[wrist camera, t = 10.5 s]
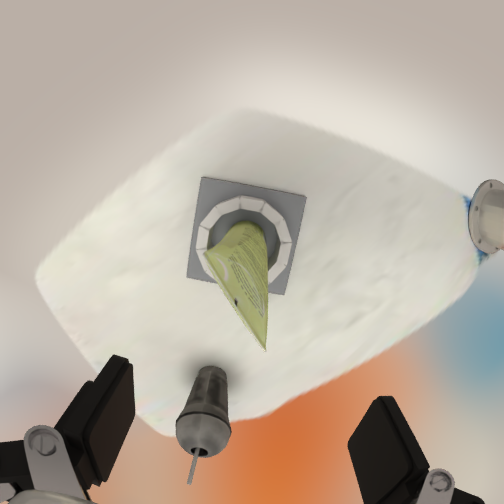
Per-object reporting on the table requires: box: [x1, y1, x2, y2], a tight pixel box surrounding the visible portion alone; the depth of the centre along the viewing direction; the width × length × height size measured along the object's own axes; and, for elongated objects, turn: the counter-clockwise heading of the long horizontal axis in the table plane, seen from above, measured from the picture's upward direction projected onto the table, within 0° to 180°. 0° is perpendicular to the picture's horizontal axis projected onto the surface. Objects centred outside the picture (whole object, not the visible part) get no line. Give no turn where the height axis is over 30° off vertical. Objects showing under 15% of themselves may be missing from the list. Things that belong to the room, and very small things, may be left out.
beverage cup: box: [176, 366, 231, 485], centre depth 33 cm, size 7×7×20 cm
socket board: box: [186, 177, 307, 295], centre depth 34 cm, size 13×13×5 cm
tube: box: [202, 221, 268, 352], centre depth 27 cm, size 6×5×20 cm
